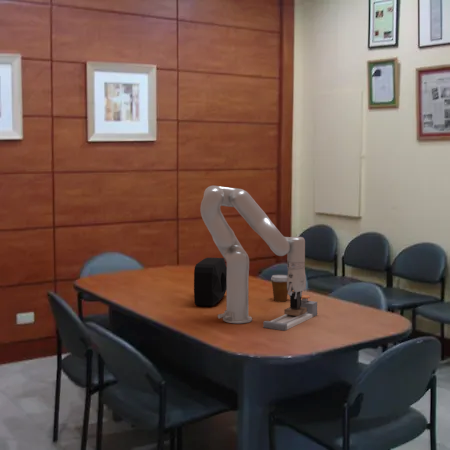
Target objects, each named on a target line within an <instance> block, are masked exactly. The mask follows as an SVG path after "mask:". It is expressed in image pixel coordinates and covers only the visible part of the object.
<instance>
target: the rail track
mask: <svg viewBox="0 0 450 450" xmlns="http://www.w3.org/2000/svg"><path fill="white" fill-rule="evenodd" d="M300 307H304V308H307V312H306V313H304V314H302V315H300V316H295V315H287V314H283V315H281V316H278V317H276V318H274V319H272V320H270V321H269V320H264V321H263V323H262V324H263V327H262V328H264V329H270V330H275V331H276V330H278V331H284V332H285V331H287V330H290V329H292V328H293V327H295V326H298V325H299V324H301V323H303V322H306V321H308V320H309V319H312V318H314V317H317V316H318V301H314V300H313V301H312V300H308V301H307V302H303V301H302V299H301V306H300Z"/></svg>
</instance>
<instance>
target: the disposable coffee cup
mask: <svg viewBox="0 0 450 450" xmlns="http://www.w3.org/2000/svg"><path fill="white" fill-rule="evenodd" d="M287 275H288V274H273V275H271V278H270V281H271V284H272V295H273V301H275V302H278V303H279V302H281V303H282V302H286V301H288V296H289V295H288V290H287Z"/></svg>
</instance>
